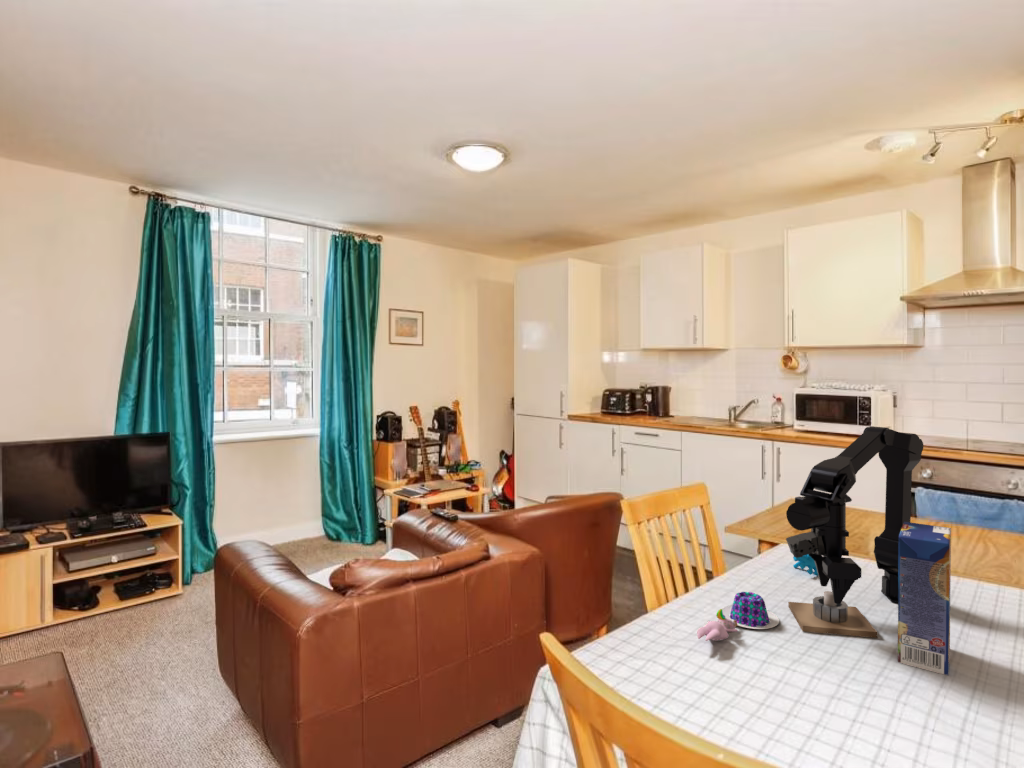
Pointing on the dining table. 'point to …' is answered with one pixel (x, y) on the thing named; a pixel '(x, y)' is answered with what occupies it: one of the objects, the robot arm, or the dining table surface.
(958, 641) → the dining table surface
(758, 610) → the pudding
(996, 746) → the dining table surface
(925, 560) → the juice carton
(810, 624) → the shaft stand
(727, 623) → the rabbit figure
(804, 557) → the gear
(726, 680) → the dining table surface
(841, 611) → the hub ring
